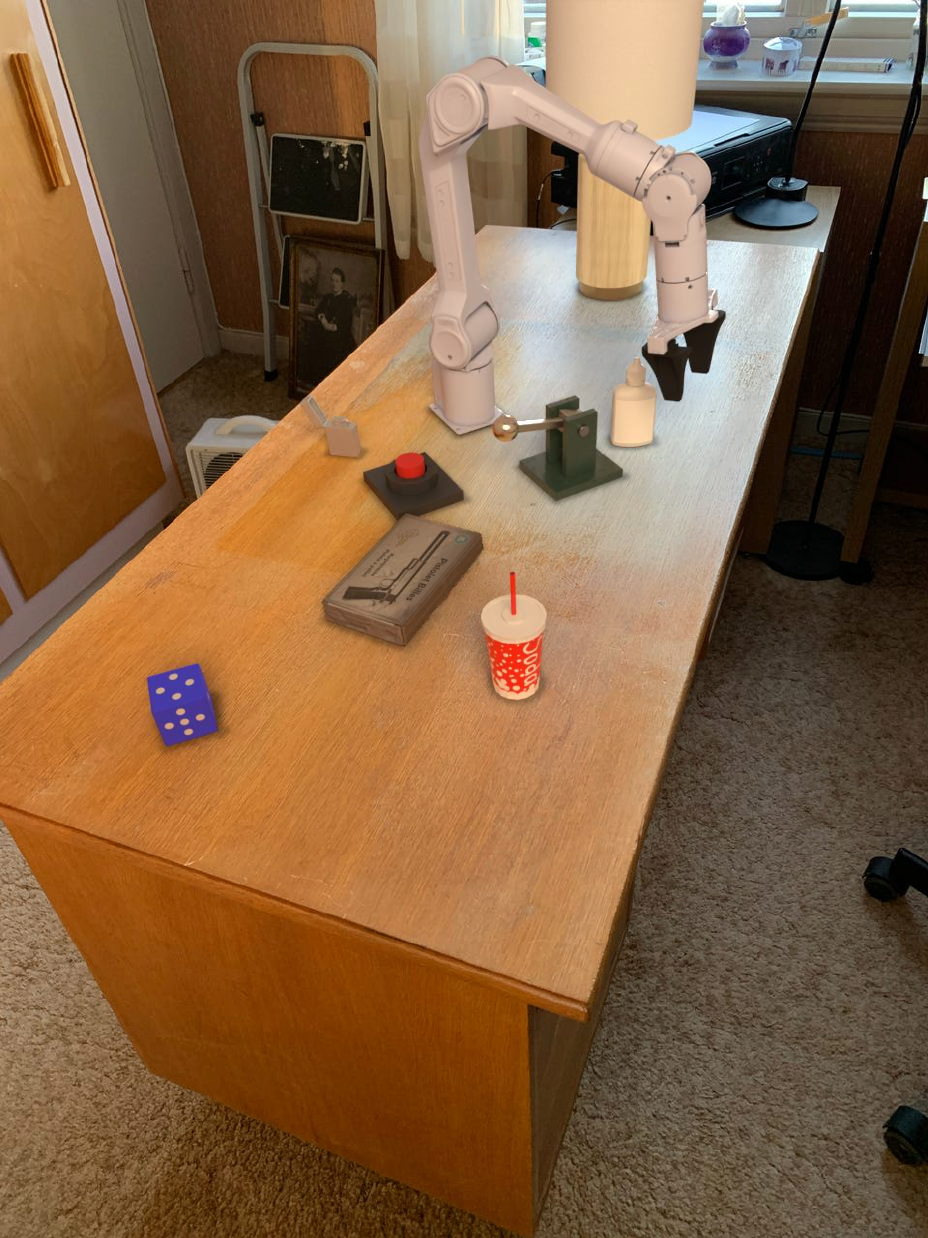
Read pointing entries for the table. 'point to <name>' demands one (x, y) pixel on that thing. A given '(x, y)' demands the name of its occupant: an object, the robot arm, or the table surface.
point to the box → (403, 578)
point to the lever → (528, 424)
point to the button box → (413, 489)
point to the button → (410, 465)
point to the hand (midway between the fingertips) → (686, 385)
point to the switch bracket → (570, 455)
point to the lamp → (621, 114)
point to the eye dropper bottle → (633, 409)
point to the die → (181, 704)
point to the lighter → (334, 429)
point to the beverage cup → (514, 642)
